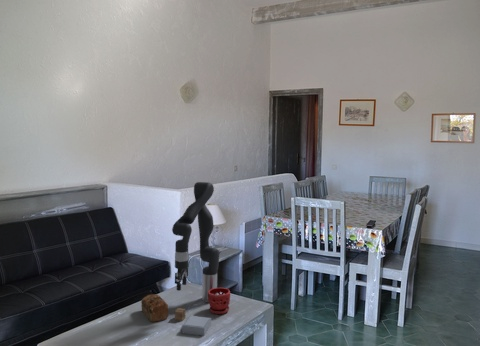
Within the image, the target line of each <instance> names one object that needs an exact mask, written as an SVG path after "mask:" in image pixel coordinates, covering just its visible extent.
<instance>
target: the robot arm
mask: <svg viewBox="0 0 480 346" xmlns="http://www.w3.org/2000/svg"><path fill="white" fill-rule="evenodd" d="M214 189H215V187H214V184H212V183H211V182H206V181H205V182H203V181H197V182H196V183H194V186H193V196H194V201H193V203H190V204H189V206H187V208H186V209H185V211H184V213H183V214H182V216H180V218H178V219H177V220H176V221H175V223H174V224H173V225H172V230H171V231H172V233H173V235H174V236H179V237H182V238H181V239H177V240H175V251H174V268H175V269H177V271H176V272H174V284H175V285H176V291H181V290H182V285H183V286H186V285H187V278H188V276H189V267H190V266H189V263H190V262H189V261H190V260H189V259H190V258H189V257H190V255H189V243H190V239H191V234H192V226H191V225H192V224H193V223H194V221H195V220H196V218H197V224H198V230H199V231H198V232H199V256H200V259H201V261H202V262H206V263H208V266H205V267H202V290H201V291H202V293H201V300H202V301H203V302H205V303H209V301H208V291H209V290H211V289H213V288H218V270H219V266H220V265H219V263H220V251H219V249H218V248H215V247H210V241H209V240H210V236H211V235H212V233H213V230H214V218H213V215H212V213H211V211H210V210H209V208H208V207H207V206H206V204H207V203H208V201H209V200H210V199H211V197H212V196H213V195H214V192H215V190H214ZM215 295H218V293H216V294H215Z"/></svg>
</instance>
